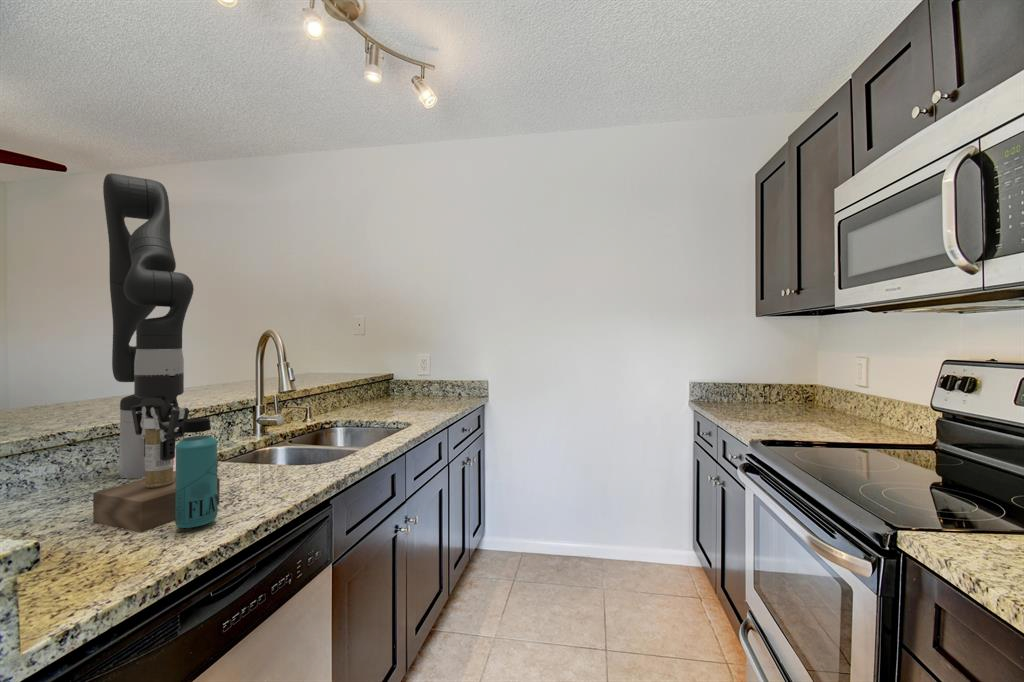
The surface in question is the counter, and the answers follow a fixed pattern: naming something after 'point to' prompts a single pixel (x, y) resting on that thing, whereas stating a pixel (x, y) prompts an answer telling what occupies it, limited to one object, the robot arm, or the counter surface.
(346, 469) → the counter surface
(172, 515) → the walnut block
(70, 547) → the counter surface
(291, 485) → the counter surface
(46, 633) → the counter surface
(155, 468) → the brown spice jar
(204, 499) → the beverage bottle
